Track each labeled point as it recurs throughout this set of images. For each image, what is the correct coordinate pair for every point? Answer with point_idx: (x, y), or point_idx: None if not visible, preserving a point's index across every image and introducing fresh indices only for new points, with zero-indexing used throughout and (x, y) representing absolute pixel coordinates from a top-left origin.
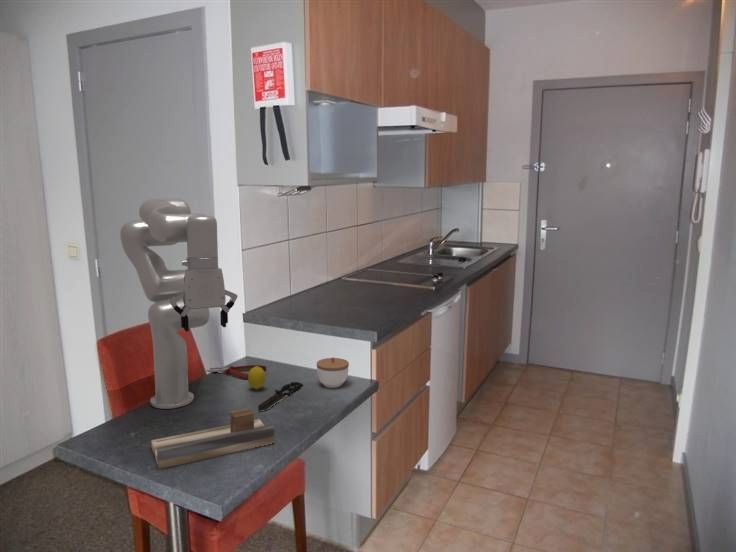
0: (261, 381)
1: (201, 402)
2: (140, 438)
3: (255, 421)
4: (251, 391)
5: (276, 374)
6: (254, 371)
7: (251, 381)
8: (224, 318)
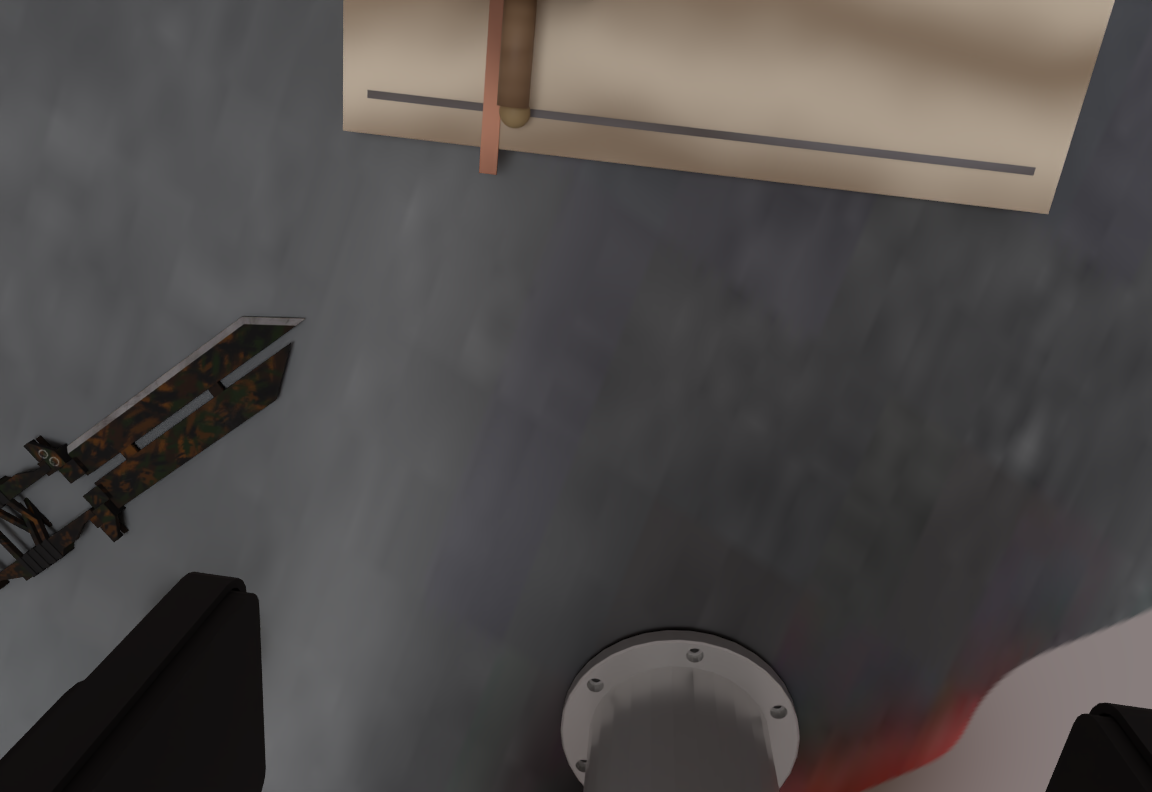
0: None
1: (546, 630)
2: (1019, 367)
3: (377, 106)
4: None
5: None
6: None
7: None
8: (91, 729)
